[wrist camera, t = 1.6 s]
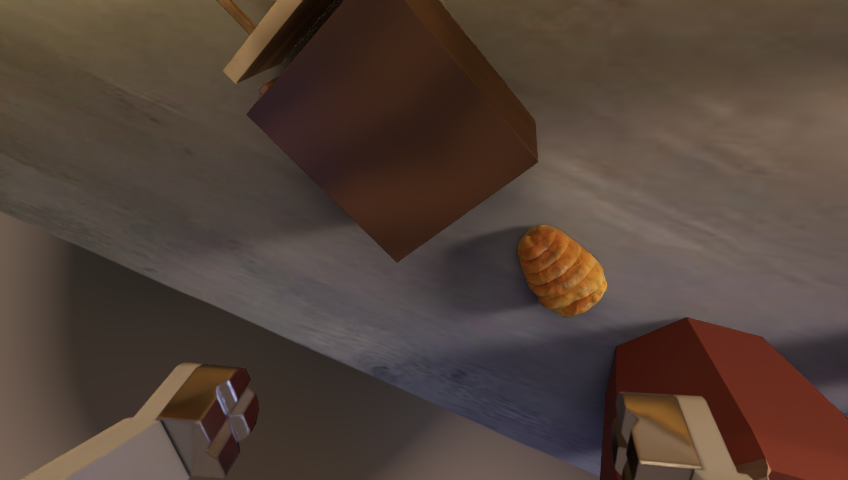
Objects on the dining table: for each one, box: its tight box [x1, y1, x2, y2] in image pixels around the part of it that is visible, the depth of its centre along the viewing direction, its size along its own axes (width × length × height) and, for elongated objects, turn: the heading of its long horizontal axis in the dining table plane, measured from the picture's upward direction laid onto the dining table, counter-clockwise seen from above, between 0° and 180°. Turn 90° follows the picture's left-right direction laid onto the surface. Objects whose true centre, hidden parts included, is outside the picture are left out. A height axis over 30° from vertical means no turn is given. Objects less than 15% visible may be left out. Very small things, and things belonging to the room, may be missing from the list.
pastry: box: [517, 225, 607, 317], centre depth 45 cm, size 9×7×4 cm
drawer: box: [217, 0, 333, 95], centre depth 35 cm, size 20×13×7 cm, turn 43°
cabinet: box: [247, 0, 538, 262], centre depth 37 cm, size 16×14×9 cm
